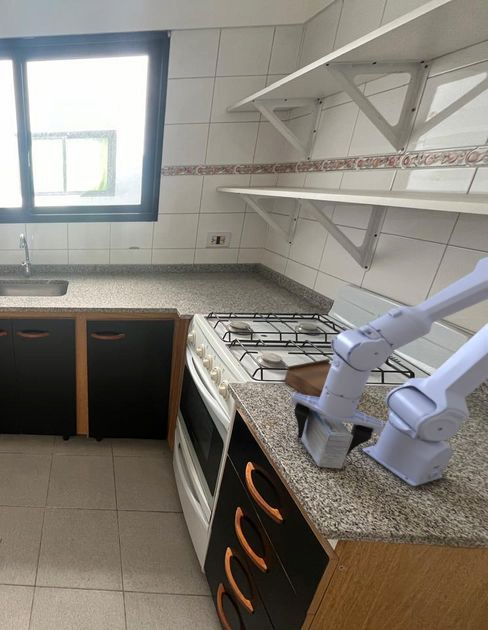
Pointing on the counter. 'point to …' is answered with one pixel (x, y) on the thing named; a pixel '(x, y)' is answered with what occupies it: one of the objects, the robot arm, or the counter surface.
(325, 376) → the wooden display riser
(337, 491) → the counter surface
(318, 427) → the medicine box
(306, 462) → the counter surface
